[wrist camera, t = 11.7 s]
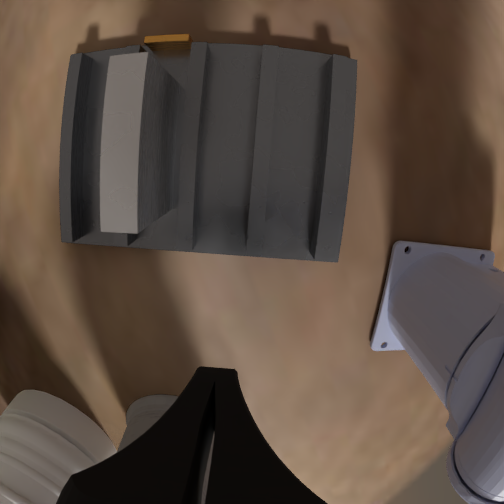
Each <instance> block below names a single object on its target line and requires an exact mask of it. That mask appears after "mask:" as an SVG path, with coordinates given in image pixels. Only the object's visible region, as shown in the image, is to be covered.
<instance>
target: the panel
mask: <svg viewBox="0 0 504 504" xmlns="http://www.w3.org/2000/svg"><path fill="white" fill-rule="evenodd" d="M179 92H180V84H179V83H178V82H177V81H176V80H175V79H174V78H173V77H172V76H171V75H170V74H169V73H168V71H167V70H166V69H165V68H164V67H163V66H162V65H161V64H160V63H159V62H158V61H157V60H156V59H155V58H154V57H153V56H152V55H151V54H150V53H149V52H141V53H131V54H122V55H114V56H110V59H109V66H108V73H107V81H106V89H105V98H104V109H103V121H102V135H101V156H100V225H101V232H116V233H134V234H138V233H139V232H141V231H142V230H143V229H145V228H146V227H148V226H149V225H150V224H152V223H153V222H155V221H156V220H157V219H159V218H160V217H162V216H163V215H164V214H166V213H167V212H169V211H170V210H172V209H173V184H174V161H175V143H176V128H177V115H178V103H179Z"/></svg>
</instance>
